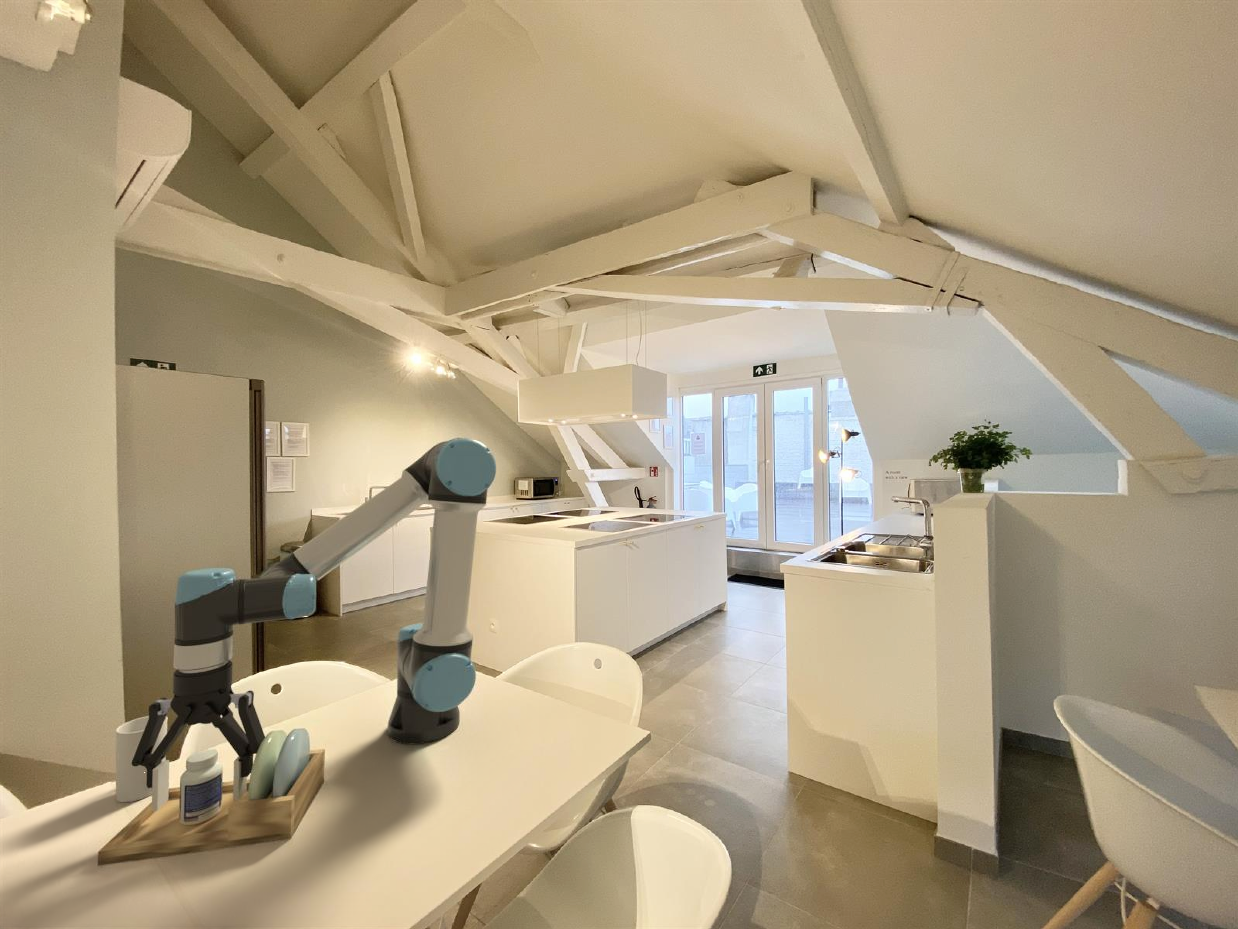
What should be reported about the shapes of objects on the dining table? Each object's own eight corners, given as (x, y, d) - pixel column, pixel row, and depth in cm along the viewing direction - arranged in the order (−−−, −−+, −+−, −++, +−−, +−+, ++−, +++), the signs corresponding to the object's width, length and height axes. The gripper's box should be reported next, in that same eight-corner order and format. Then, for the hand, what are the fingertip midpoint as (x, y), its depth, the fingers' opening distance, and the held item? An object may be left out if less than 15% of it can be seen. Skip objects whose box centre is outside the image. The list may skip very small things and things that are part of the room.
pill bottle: (229, 809, 84) (231, 749, 84) (193, 830, 79) (195, 767, 79) (207, 801, 86) (209, 744, 86) (170, 822, 81) (172, 760, 81)
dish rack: (324, 781, 93) (324, 749, 93) (290, 838, 78) (291, 800, 79) (165, 800, 87) (166, 765, 88) (97, 865, 73) (98, 823, 73)
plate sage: (288, 785, 90) (289, 717, 91) (256, 831, 79) (257, 753, 79) (280, 786, 90) (282, 718, 90) (247, 832, 78) (249, 754, 79)
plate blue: (309, 782, 91) (310, 715, 91) (280, 827, 80) (282, 751, 80) (301, 783, 91) (303, 716, 91) (272, 829, 79) (273, 751, 80)
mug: (151, 800, 88) (153, 730, 88) (103, 807, 86) (105, 735, 86) (183, 768, 97) (185, 705, 98) (141, 773, 95) (143, 709, 96)
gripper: (291, 651, 89) (289, 778, 89) (136, 661, 84) (133, 796, 83) (272, 667, 82) (269, 805, 81) (101, 679, 77) (97, 827, 76)
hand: (200, 800), depth 82 cm, fingers open, 10 cm apart
